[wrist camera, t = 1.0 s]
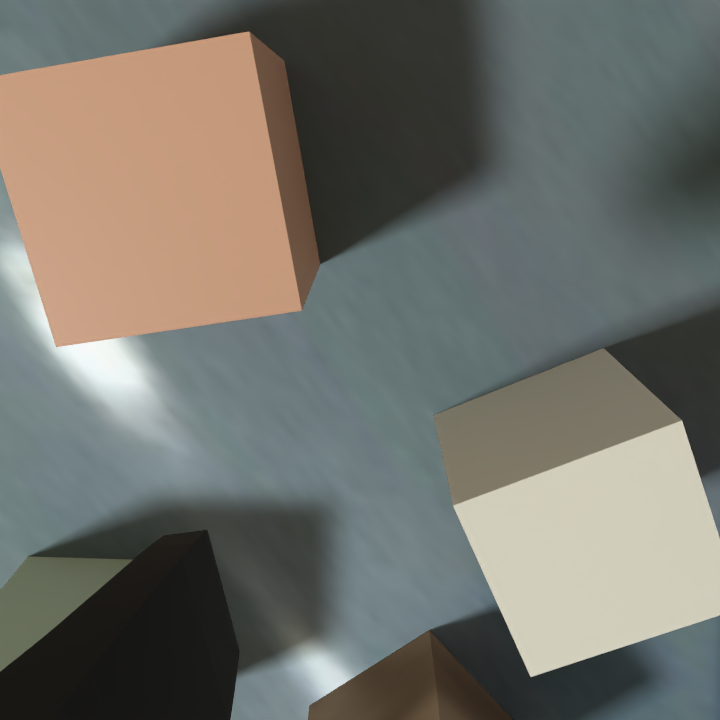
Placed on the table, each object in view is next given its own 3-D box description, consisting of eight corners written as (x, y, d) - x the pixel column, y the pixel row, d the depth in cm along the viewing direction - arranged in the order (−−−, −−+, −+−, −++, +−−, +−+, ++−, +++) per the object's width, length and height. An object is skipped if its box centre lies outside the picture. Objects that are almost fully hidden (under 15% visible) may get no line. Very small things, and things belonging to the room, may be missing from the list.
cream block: (602, 347, 18) (682, 420, 14) (653, 495, 20) (741, 608, 15) (433, 414, 19) (453, 505, 14) (494, 552, 21) (530, 677, 16)
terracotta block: (284, 61, 16) (248, 31, 12) (320, 263, 18) (301, 310, 13) (86, 95, 17) (-27, 79, 12) (138, 291, 18) (56, 346, 13)
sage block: (189, 559, 21) (136, 683, 16) (198, 687, 22) (152, 835, 18) (29, 555, 21) (-72, 677, 16) (48, 683, 22) (-37, 829, 18)
